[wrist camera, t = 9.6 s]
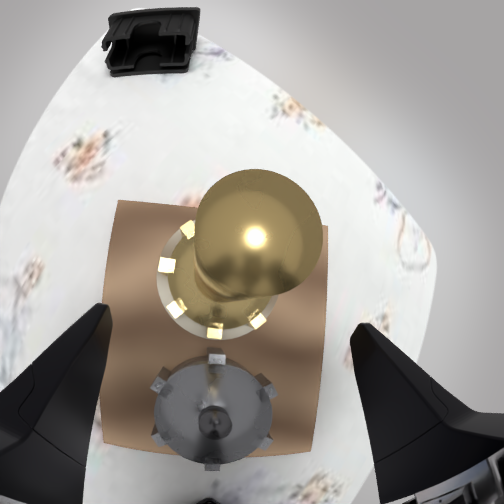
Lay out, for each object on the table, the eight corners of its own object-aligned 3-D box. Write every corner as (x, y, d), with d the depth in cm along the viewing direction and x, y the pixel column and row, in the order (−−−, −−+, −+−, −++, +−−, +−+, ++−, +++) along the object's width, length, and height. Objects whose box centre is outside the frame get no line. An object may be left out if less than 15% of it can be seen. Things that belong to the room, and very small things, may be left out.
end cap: (197, 41, 26) (202, -1, 20) (191, 73, 25) (196, 26, 18) (121, 45, 24) (116, 5, 18) (106, 78, 23) (95, 35, 16)
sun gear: (260, 450, 18) (274, 477, 13) (157, 446, 16) (150, 474, 12) (269, 350, 19) (287, 360, 15) (157, 341, 18) (147, 350, 14)
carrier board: (304, 444, 20) (312, 452, 18) (108, 435, 16) (102, 444, 15) (320, 230, 24) (329, 224, 22) (122, 206, 21) (117, 198, 19)
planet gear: (209, 358, 18) (236, 437, 6) (140, 264, 18) (64, 197, 6) (296, 288, 20) (419, 260, 8) (231, 201, 21) (278, 82, 9)
